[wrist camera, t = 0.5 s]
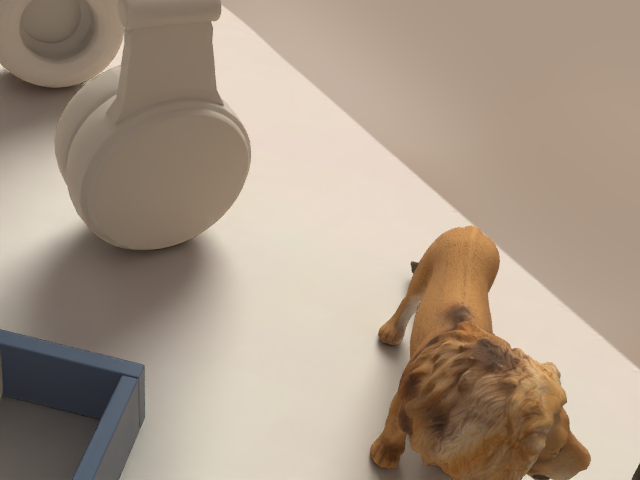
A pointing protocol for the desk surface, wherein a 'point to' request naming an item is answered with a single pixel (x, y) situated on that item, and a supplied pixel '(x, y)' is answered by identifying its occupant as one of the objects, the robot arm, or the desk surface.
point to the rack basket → (79, 395)
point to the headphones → (134, 112)
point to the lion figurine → (472, 378)
